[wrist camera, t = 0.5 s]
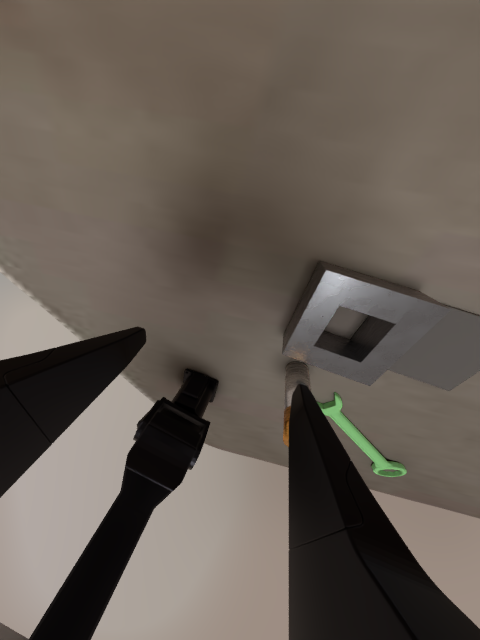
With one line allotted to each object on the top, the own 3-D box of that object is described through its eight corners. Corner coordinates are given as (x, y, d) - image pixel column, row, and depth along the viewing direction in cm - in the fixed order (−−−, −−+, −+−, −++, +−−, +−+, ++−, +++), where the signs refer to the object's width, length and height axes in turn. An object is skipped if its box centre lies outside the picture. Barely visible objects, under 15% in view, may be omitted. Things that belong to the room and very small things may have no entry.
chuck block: (358, 361, 22) (369, 386, 19) (283, 334, 23) (282, 354, 20) (419, 291, 17) (451, 309, 14) (319, 260, 18) (326, 270, 14)
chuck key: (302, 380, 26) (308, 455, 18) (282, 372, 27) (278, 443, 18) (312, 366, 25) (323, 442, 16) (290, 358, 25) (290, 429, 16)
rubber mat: (446, 388, 21) (449, 391, 21) (372, 362, 22) (373, 364, 22) (530, 331, 16) (535, 334, 16) (431, 300, 17) (434, 302, 17)
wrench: (327, 378, 26) (297, 390, 29) (329, 389, 25) (297, 400, 27) (410, 469, 31) (377, 472, 34) (416, 483, 29) (382, 484, 32)
